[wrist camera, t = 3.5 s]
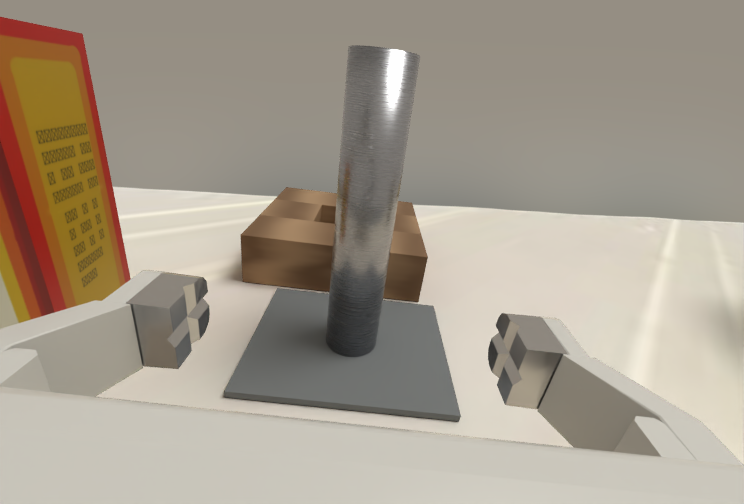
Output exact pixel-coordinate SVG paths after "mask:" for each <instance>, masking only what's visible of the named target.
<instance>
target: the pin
mask: <svg viewBox="0 0 744 504" xmlns="http://www.w3.org/2000/svg"><path fill="white" fill-rule="evenodd" d="M419 62H420V56H419V55H417V54H414V53H410V52H406V51H401V50H395V49H389V48H381V47H372V46H349V48H348V60H347V72H346V87H345V98H344V111H343V124H342V137H341V149H340V162H339V175H338V189H337V201H336V214H335V227H334V239H333V252H332V265H331V278H330V291H329V304H328V317H327V329H326V343H327V345H328V347H329V348H330V349H331V350H332V351H334V352H335V353H337V354H339V355H342V356H347V357H360V356H364V355H366V354H368V353H370V352H371V351H372V350H373V349H374V348H375V345H376V340H377V334H378V327H379V321H380V314H381V308H382V301H383V295H384V289H385V282H386V276H387V269H388V263H389V256H390V250H391V243H392V237H393V230H394V224H395V217H396V211H397V204H398V198H399V191H400V185H401V178H402V172H403V165H404V159H405V152H406V146H407V139H408V133H409V126H410V120H411V113H412V106H413V101H414V94H415V87H416V81H417V74H418V67H419Z"/></svg>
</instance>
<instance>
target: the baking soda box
mask: <svg viewBox="0 0 744 504" xmlns="http://www.w3.org/2000/svg"><path fill="white" fill-rule="evenodd" d="M129 280H131V279H130V274H129V269H128V264H127V259H126V254H125V248H124V243H123V238H122V233H121V228H120V223H119V218H118V213H117V208H116V203H115V197H114V192H113V187H112V182H111V177H110V172H109V167H108V162H107V157H106V152H105V146H104V141H103V136H102V131H101V126H100V121H99V116H98V111H97V106H96V101H95V95H94V90H93V85H92V80H91V75H90V70H89V65H88V60H87V55H86V50H85V44H84V40H83V35H82V34H81V33H76V32H72V31H67V30H62V29H57V28H52V27H47V26H42V25H37V24H33V23H28V22H23V21H18V20H13V19H8V18H3V17H0V329H2V328H5V327H8V326H12V325H15V324H18V323H21V322H25V321H28V320H31V319H35V318H38V317H41V316H45V315H48V314H51V313H55V312H58V311H61V310H65V309H68V308H71V307H75V306H78V305H81V304H85V303H88V302H91V301H95V300H97V301H102V300H104V299H105V298H106V297H108V296H109V295H110V294H112V293H113V292H114V291H116V290H117V289H118V288H120V287H121V286H122V285H124V284H125V283H127V282H128V281H129Z"/></svg>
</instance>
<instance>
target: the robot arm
mask: <svg viewBox="0 0 744 504" xmlns="http://www.w3.org/2000/svg"><path fill="white" fill-rule="evenodd" d="M207 292H208V290H207V282H206V280H205V279H204V278H203V277H198V276H190V275H183V274H176V273H169V272H162V271H153V270H143V271H141V272H140V273H139V274H137V275H136V276H135V277H133V278H132V279H131V280H129V281H128V282H127V283H125V284H124V285H122V286H121V287H120V288H118V289H117V290H116V291H114V292H113V293H112V294H110V295H109V296H108V297H106V298H105V299H104V300H102V301H97V300H95V301H91V302H88V303H85V304H81V305H78V306H75V307H71V308H68V309H65V310H61V311H58V312H55V313H51V314H48V315H45V316H41V317H38V318H35V319H31V320H28V321H25V322H21V323H18V324H15V325H12V326H8V327H5V328H2V329H0V504H744V465H743V464H742V463H741V462H740V461H739V460H738V459H737V458H736V457H735V456H734V455H733V453H732V452H731V451H730V450H729V449H728V448H727V447H726V446H725V445H724V444H723V443H722V442H721V441H720V440H719V439H718V438H717V437H716V436H715V435H714V434H713V433H712V432H711V431H710V430H709V429H708V428H707V427H706V426H705V425H704V424H703V423H702V422H701V421H699V420H698V419H696V418H694V417H693V416H691V415H689V414H688V413H686V412H684V411H683V410H681V409H679V408H678V407H676V406H674V405H673V404H671V403H669V402H668V401H666V400H664V399H663V398H661V397H660V396H658V395H656V394H655V393H653V392H651V391H650V390H648V389H646V388H645V387H643V386H641V385H640V384H638V383H636V382H635V381H633V380H631V379H630V378H628V377H626V376H625V375H623V374H621V373H620V372H618V371H616V370H615V369H613V368H611V367H610V366H608V365H606V364H605V363H603V362H601V361H600V360H598V359H596V358H592V357H589V356H588V355H587V353H586V352H585V351H584V349H583V348H582V347H581V346H580V344H579V343H578V342H577V341H576V339H575V338H574V337H573V336H572V334H571V333H570V332H569V331H568V329H567V328H566V327H565V326H564V324H563V323H562V322H561V320H559V319H557V318H550V317H536V316H526V315H515V314H504V313H502V314H501V315H500V317H499V318H498V321H497V324H496V327H497V329H498V331H499V333H498V334H497V335H495V336H494V337H493V338H492V339H491V342H490V345H489V351H488V360H489V365H490V368H491V371H492V373H494V374H495V375H496V376H497V377H498V378H499V381H498V384H497V386H498V388H499V391H500V393H501V396H502V398H503V401H504V403H505V405H509V406H516V407H523V408H531V409H538V412H539V413H540V414H541V415H542V416H543V417H544V418H545V419H546V420H547V421H548V422H549V423H550V424H551V425H552V426H553V427H554V428H555V429H556V430H557V431H558V432H559V433H560V434H561V435H562V436H563V437H564V438H565V439H566V440H567V441H568V442H569V443H570V444H571V445H572V446H573V447H574V448H572V447H563V446H553V445H544V444H534V443H525V442H516V441H506V440H497V439H488V438H478V437H469V436H460V435H450V434H441V433H432V432H422V431H413V430H404V429H394V428H385V427H375V426H366V425H356V424H346V423H337V422H327V421H318V420H308V419H299V418H289V417H280V416H270V415H261V414H252V413H242V412H233V411H224V410H214V409H205V408H195V407H186V406H177V405H167V404H158V403H149V402H139V401H130V400H120V399H111V398H102V397H96V396H97V395H99V394H101V393H102V392H104V391H106V390H107V389H109V388H110V387H112V386H114V385H115V384H117V383H119V382H120V381H122V380H124V379H125V378H127V377H129V376H130V375H132V374H134V373H135V372H137V371H139V370H140V369H142V368H143V366H146V367H159V368H171V369H179V367H180V366H181V365H182V363H183V362H184V360H185V359H186V358H187V356H188V355H189V354H190V352H191V351H192V350H191V344H192V343H194V342H196V341H198V340H200V338H201V337H202V336H203V334H204V333H205V330H206V328H207V325H208V322H209V305H208V304H207V303H206V301H205V300H204V299H203V297H204V296H205V294H206V293H207Z"/></svg>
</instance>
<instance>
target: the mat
mask: <svg viewBox="0 0 744 504" xmlns="http://www.w3.org/2000/svg"><path fill="white" fill-rule="evenodd" d="M328 304H329V294H324V293H315V292H306V291H297V290H289V289H280V288H277V290H276V292H275V294H274V296H273V298H272V300H271V302H270V304H269V306H268V307H267V309H266V311H265V313H264V315H263V317H262V319H261V321H260V323H259V325H258V327H257V329H256V331H255V333H254V335H253V336H252V338H251V340H250V342H249V344H248V346H247V348H246V350H245V352H244V354H243V356H242V358H241V360H240V362H239V364H238V366H237V367H236V369H235V371H234V373H233V375H232V377H231V379H230V381H229V383H228V385H227V387H226V389H225V391H224V395H225V397H228V398H238V399H248V400H257V401H267V402H277V403H286V404H296V405H306V406H315V407H325V408H335V409H344V410H354V411H363V412H373V413H383V414H392V415H402V416H412V417H421V418H431V419H441V420H450V421H459V420H460V417H461V415H460V411H459V407H458V403H457V399H456V395H455V391H454V387H453V383H452V379H451V375H450V371H449V367H448V363H447V359H446V355H445V351H444V347H443V343H442V339H441V335H440V331H439V327H438V323H437V319H436V315H435V311H434V307H433V306H428V305H420V304H411V303H402V302H393V301H385V300H383V301H382V308H381V314H380V321H379V327H378V334H377V340H376V345H375V348H374V349H373V350H372V351H371V352H370V353H368V354H366V355H364V356H360V357H347V356H342V355H339V354H337V353H335V352H334V351H332V350H331V349H330V348H329V347H328V345H327V343H326V329H327V317H328Z"/></svg>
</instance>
